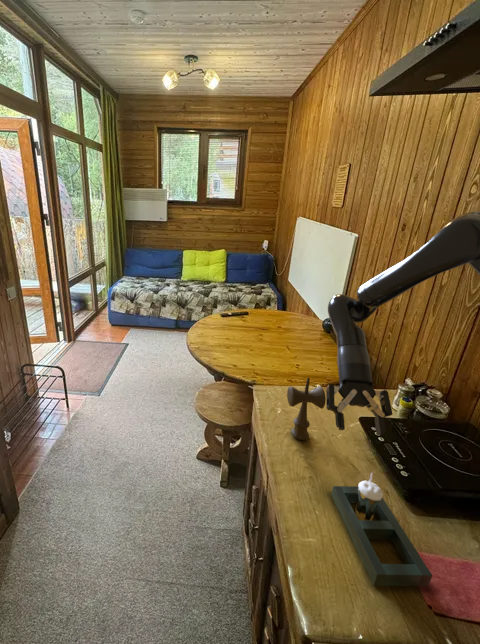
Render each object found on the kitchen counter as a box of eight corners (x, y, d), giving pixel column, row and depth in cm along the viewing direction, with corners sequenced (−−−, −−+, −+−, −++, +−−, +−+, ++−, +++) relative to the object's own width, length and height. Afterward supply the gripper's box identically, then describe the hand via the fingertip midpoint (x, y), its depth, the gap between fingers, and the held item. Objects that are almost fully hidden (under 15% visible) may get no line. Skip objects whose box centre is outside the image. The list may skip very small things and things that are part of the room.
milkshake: (374, 510, 70) (383, 476, 67) (375, 531, 65) (385, 496, 62) (352, 501, 72) (360, 468, 69) (351, 521, 67) (360, 486, 64)
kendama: (319, 443, 89) (330, 383, 83) (285, 442, 89) (294, 382, 83) (312, 429, 95) (322, 372, 89) (280, 427, 95) (288, 371, 89)
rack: (372, 496, 73) (375, 486, 72) (428, 586, 56) (432, 575, 55) (331, 495, 73) (333, 485, 72) (373, 585, 56) (377, 574, 55)
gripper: (329, 358, 78) (334, 427, 70) (390, 364, 75) (401, 435, 68) (321, 366, 84) (324, 430, 77) (376, 372, 82) (386, 437, 75)
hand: (360, 432), depth 73 cm, fingers open, 8 cm apart
